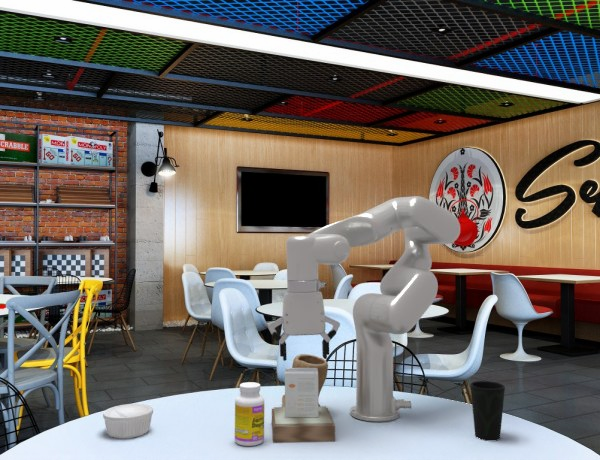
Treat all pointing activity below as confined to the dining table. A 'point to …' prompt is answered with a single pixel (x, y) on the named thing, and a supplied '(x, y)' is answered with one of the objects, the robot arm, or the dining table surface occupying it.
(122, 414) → the ramekin
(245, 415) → the supplement bottle
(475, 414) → the cup
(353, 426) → the dining table surface
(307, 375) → the small box
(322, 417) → the stand
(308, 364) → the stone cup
